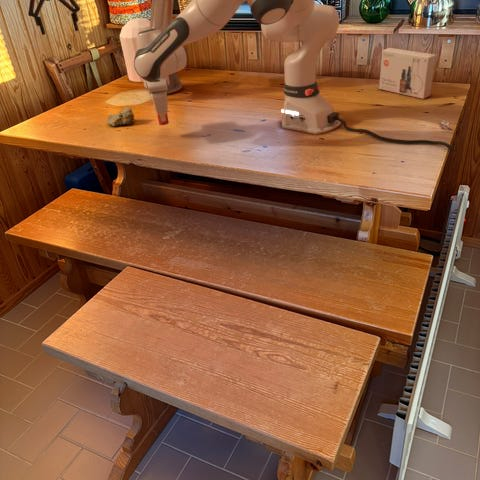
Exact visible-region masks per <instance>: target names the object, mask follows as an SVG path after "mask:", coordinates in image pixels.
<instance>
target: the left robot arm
mask: <svg viewBox="0 0 480 480" xmlns="http://www.w3.org/2000/svg"><path fill="white" fill-rule="evenodd" d="M45 1H46V2H49V1H50V0H39V1H38V3H37V6H36V9H35V3H36V0H30V1H29V5H28V6H29V7H28V13H27V15H28V16H29V17H32V18H33V19H34V21H35V25H36V26H37V27H39V29H40V30H39V31H40V33H41V35H42V36H44V35H46V30H45V27H44V24H43V21H42V17H41V16H39V15H40V12H41V11H42V8H43V5H44V3H45ZM57 1H58V2H60V3H61V4H62V5H63V6H64V7H65V8H66V9H68V10H69V12H70V16H71V20H72V24H73V28H74V31H75V32H78V31H79V26H78V22H79V17H78V12H79V11H81V7H80V6H79V5H78V3H77V1H76V0H68V1H69V2H70V3H69V2H68V1H66V0H57ZM174 1H175V0H151V5H150V6H151V7H150V19H149V20H150V29H154V28H156V29H159V30H160V32H162V31H163V30H164V29H165V28H166V27H167V26H168V25H169V24H171V23H172V22H173V10H174ZM34 9H35V10H34ZM169 81H170V84H169V85H168V90H167V96H168V95H172V94H176V93H179V92H180V91H182V90H183V84H182V82H181V80H180V77H179V76H178V74H177V72H175V73H173V74H170V75H169Z"/></svg>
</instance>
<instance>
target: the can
mask: <svg viewBox="0 0 480 480" xmlns="http://www.w3.org/2000/svg"><path fill="white" fill-rule="evenodd" d="M156 116H157V121H158V125H159V126H167V125H168V124H169V123H170V121H169V115H168V113H167V114H165V116H166V121H165V122H161V118H160V115H158V114H157V113H156Z"/></svg>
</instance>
